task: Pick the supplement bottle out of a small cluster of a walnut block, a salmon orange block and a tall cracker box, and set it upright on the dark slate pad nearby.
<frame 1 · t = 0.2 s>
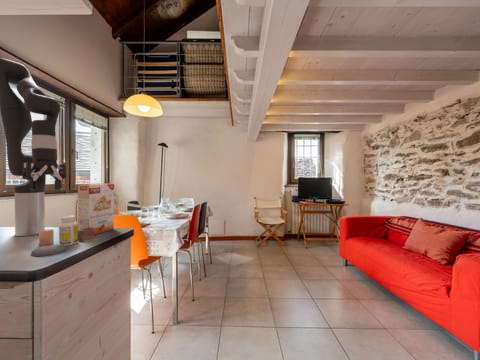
hand: (46, 190, 90), 19 cm above the countertop, tool pointing down, fingers open, 8 cm apart
salmon orange block: (46, 244, 83), on the countertop
cracker box: (97, 232, 101), on the countertop
walnut block: (85, 239, 90), on the countertop
slate pad: (49, 251, 75), on the countertop
supplement bottle: (68, 244, 84), on the countertop
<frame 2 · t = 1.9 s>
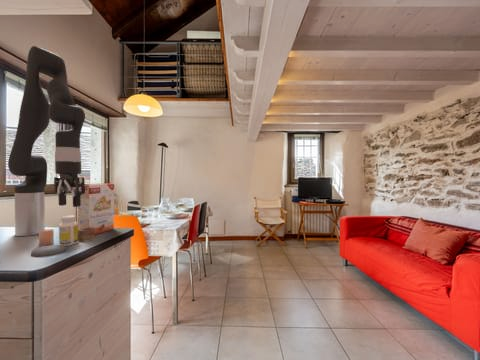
hand: (69, 206, 84), 14 cm above the countertop, tool pointing down, fingers open, 8 cm apart
nothing on the countertop moved.
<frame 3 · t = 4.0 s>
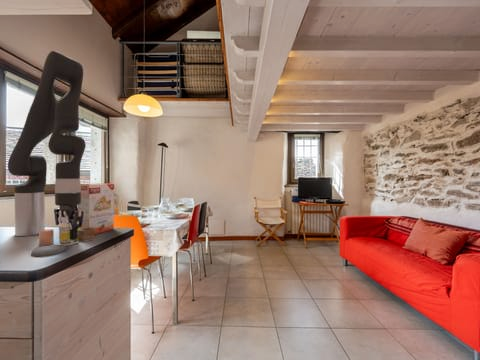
hand: (68, 238, 84), 2 cm above the countertop, tool pointing down, fingers closed on supplement bottle, 5 cm apart
supplement bottle: (68, 244, 84), on the countertop, touching gripper
everything else where it was.
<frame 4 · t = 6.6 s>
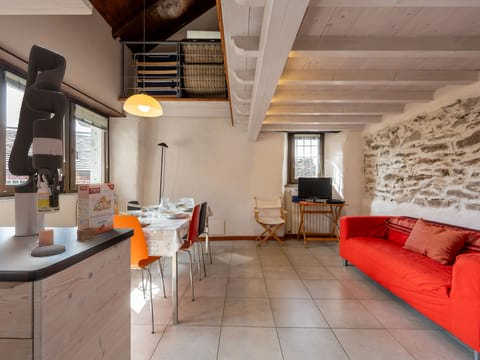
hand: (48, 206, 75), 15 cm above the countertop, tool pointing down, fingers closed on supplement bottle, 5 cm apart
supplement bottle: (49, 213, 75), point 12 cm above the countertop, touching gripper
everything else where it was.
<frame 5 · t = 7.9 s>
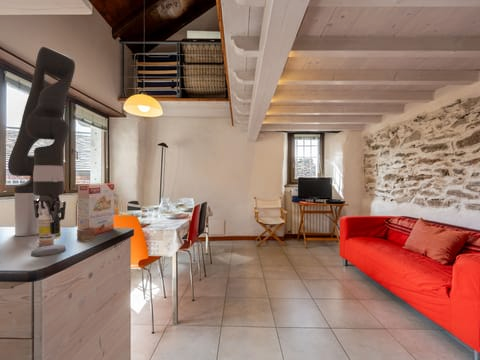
hand: (49, 232, 75), 6 cm above the countertop, tool pointing down, fingers closed on supplement bottle, 5 cm apart
supplement bottle: (50, 239, 75), point 4 cm above the countertop, touching gripper
everything else where it was.
when the fingers open (4 cm above the countertop, at t = 9.2 s): supplement bottle drops 1 cm, resting on slate pad.
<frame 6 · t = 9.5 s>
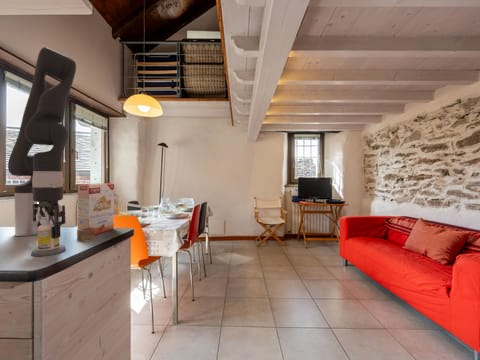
hand: (48, 236, 75), 5 cm above the countertop, tool pointing down, fingers open, 8 cm apart
supplement bottle: (48, 249, 76), point 1 cm above the countertop, touching slate pad
everything else where it was.
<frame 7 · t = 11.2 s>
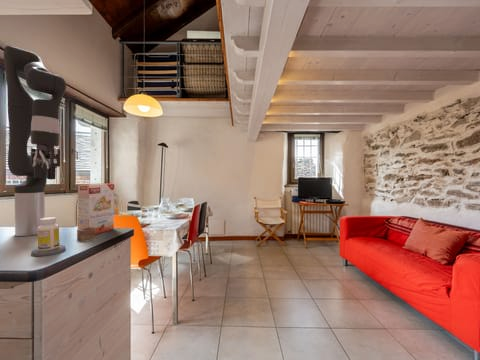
hand: (44, 178, 81), 23 cm above the countertop, tool pointing down, fingers open, 8 cm apart
nothing on the countertop moved.
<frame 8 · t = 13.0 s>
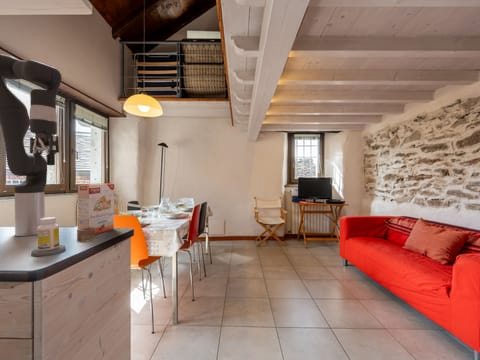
hand: (44, 165, 85), 28 cm above the countertop, tool pointing down, fingers open, 8 cm apart
nothing on the countertop moved.
at the end: supplement bottle 0.2 cm off-centre on the slate pad, point 0.8 cm above the slate pad's base; supplement bottle tilted 1°; the gripper is holding nothing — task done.
